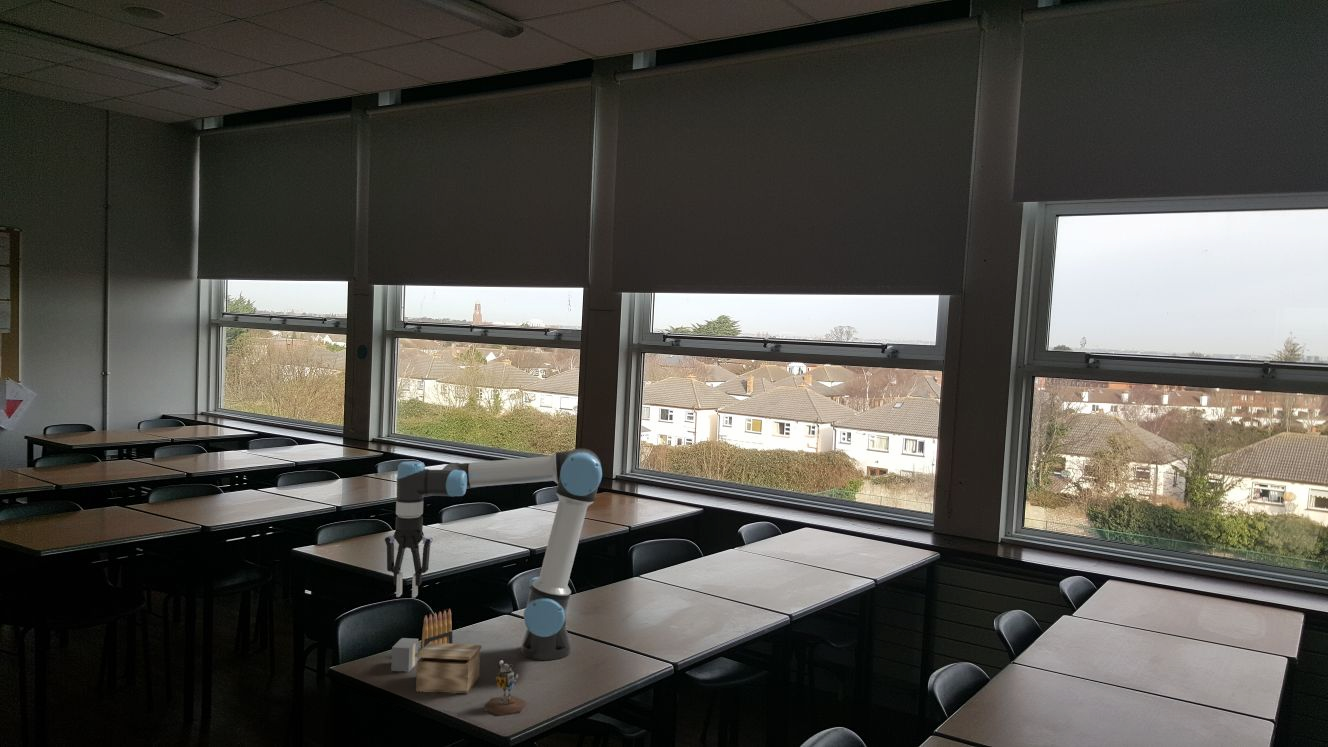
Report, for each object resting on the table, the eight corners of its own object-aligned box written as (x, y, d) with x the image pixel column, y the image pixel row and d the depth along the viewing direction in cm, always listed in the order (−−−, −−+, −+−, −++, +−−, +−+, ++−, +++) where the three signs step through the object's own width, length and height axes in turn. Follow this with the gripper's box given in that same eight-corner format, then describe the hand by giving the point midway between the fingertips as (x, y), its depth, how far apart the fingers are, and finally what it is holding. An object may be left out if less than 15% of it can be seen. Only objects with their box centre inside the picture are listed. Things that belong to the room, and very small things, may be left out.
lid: (481, 648, 240) (481, 644, 240) (469, 659, 228) (469, 656, 228) (429, 645, 241) (429, 642, 241) (414, 657, 228) (414, 653, 228)
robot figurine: (533, 708, 221) (535, 662, 221) (506, 719, 214) (508, 672, 214) (505, 696, 228) (506, 651, 228) (477, 706, 221) (479, 661, 221)
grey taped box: (418, 662, 250) (418, 638, 250) (408, 672, 242) (409, 648, 242) (400, 661, 251) (401, 638, 250) (391, 671, 243) (391, 647, 242)
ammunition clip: (424, 656, 256) (425, 616, 255) (420, 654, 257) (421, 615, 256) (452, 647, 264) (453, 608, 264) (448, 645, 265) (450, 607, 265)
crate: (478, 677, 241) (479, 649, 240) (467, 694, 229) (468, 664, 228) (430, 674, 241) (430, 646, 241) (415, 691, 229) (416, 661, 229)
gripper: (442, 514, 249) (439, 593, 249) (385, 511, 250) (382, 591, 250) (434, 519, 241) (431, 601, 242) (375, 516, 242) (373, 598, 243)
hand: (406, 595), depth 246 cm, fingers open, 4 cm apart
